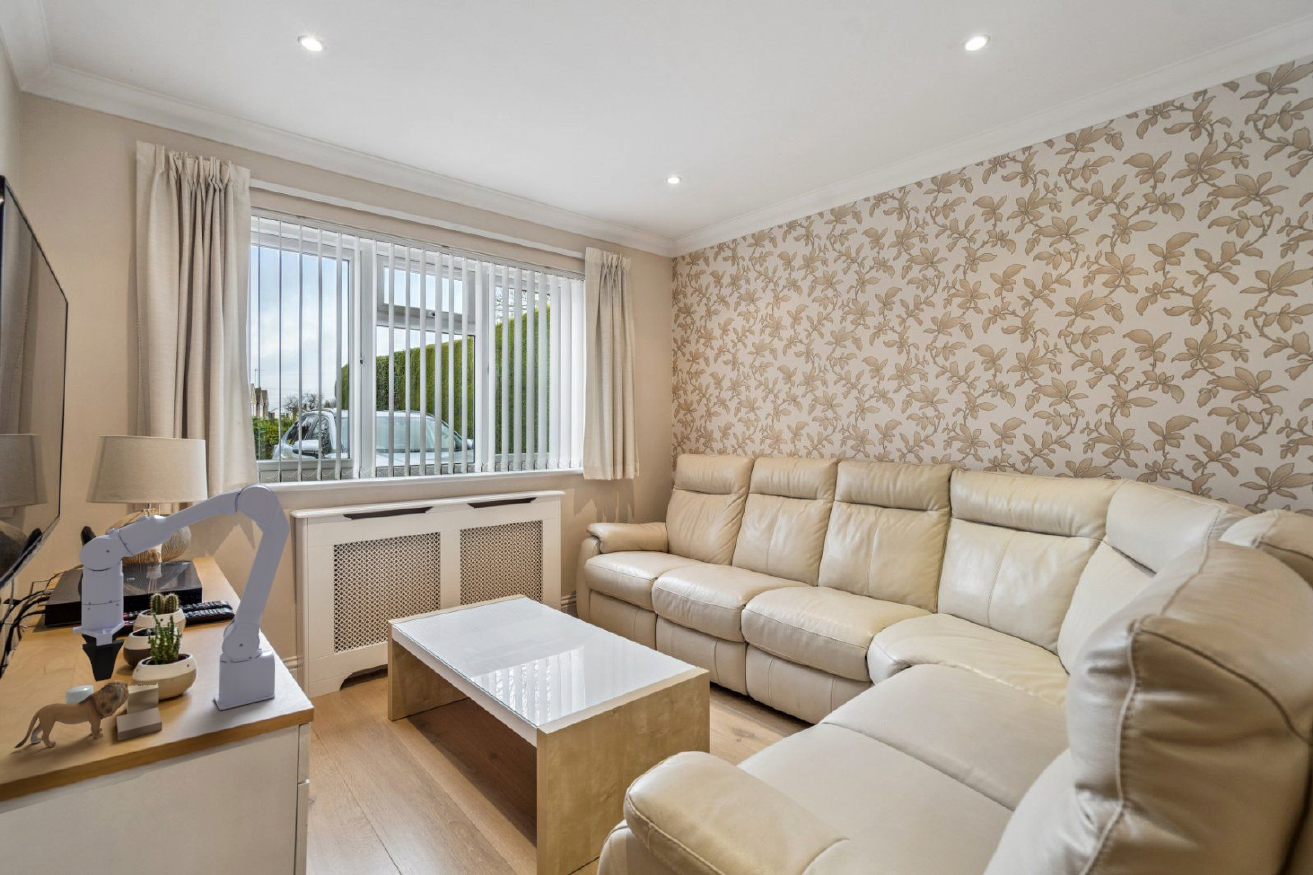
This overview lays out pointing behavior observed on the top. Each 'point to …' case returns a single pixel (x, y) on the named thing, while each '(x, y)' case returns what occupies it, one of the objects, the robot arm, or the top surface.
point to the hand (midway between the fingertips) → (102, 673)
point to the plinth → (138, 723)
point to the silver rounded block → (78, 693)
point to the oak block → (142, 698)
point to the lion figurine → (79, 712)
